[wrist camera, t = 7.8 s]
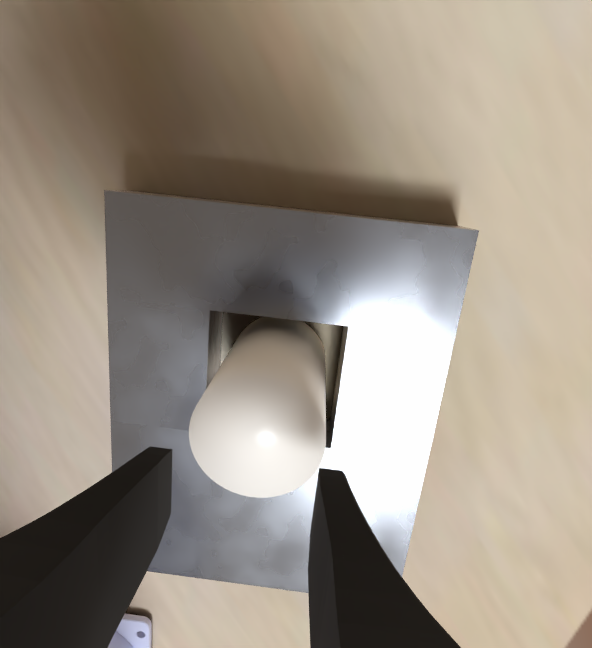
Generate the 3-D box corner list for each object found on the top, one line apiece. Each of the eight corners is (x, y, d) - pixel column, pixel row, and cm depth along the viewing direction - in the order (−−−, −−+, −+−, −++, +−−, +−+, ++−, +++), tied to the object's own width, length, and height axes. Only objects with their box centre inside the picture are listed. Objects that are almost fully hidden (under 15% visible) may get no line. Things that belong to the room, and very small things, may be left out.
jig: (388, 562, 23) (395, 604, 21) (136, 529, 24) (114, 566, 21) (458, 225, 18) (478, 230, 16) (132, 191, 18) (104, 190, 16)
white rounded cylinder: (316, 408, 21) (313, 508, 14) (228, 393, 21) (183, 484, 14) (333, 323, 20) (337, 389, 13) (238, 307, 20) (195, 364, 13)
